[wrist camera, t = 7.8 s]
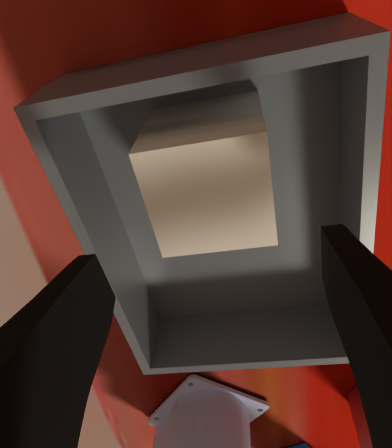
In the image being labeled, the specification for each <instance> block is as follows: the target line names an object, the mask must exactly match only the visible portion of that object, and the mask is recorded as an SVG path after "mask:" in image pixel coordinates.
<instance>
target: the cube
mask: <svg viewBox="0 0 392 448" xmlns="http://www.w3.org/2000/svg"><path fill="white" fill-rule="evenodd" d="M128 155H129V158H130V161H131V164H132V167H133V170H134V173H135V176H136V179H137V182H138V185H139V188H140V191H141V194H142V197H143V200H144V203H145V206H146V209H147V212H148V215H149V218H150V221H151V224H152V227H153V230H154V233H155V236H156V239H157V242H158V245H159V248H160V251H161V254H162V258H166V257H175V256H184V255H194V254H203V253H212V252H221V251H230V250H239V249H248V248H258V247H267V246H276V245H278V239H277V229H276V219H275V209H274V198H273V188H272V178H271V168H270V158H269V148H268V138H267V130H266V125H265V121H264V116H263V111H262V107H261V102H260V97H259V93H258V90H255V91H249V92H244V93H238V94H233V95H227V96H222V97H216V98H211V99H205V100H200V101H194V102H189V103H184V104H178V105H173V106H167V107H162V108H156V109H152V110H151V112H150V114H149V116H148V118H147V119H146V121H145V123H144V125H143V127H142V129H141V131H140V133H139V135H138V137H137V139H136V141H135V143H134V145H133V146H132V148H131V150H130V152H129V154H128Z"/></svg>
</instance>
